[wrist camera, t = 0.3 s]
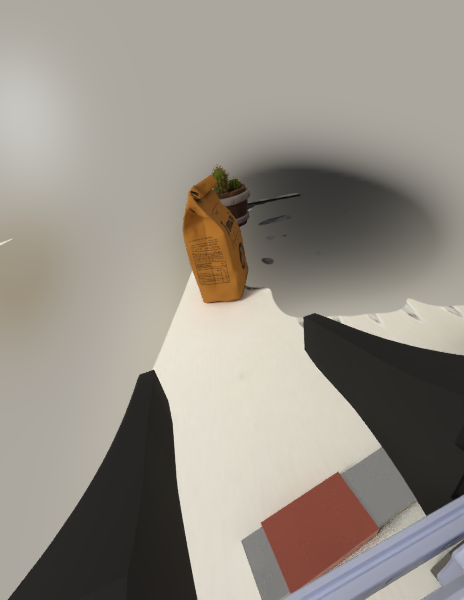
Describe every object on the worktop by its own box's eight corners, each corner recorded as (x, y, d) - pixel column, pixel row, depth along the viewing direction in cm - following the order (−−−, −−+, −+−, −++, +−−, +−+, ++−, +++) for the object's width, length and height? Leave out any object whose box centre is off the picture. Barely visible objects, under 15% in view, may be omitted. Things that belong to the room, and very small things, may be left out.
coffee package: (256, 272, 59) (237, 168, 47) (243, 306, 50) (215, 186, 37) (216, 274, 62) (189, 177, 50) (197, 305, 53) (157, 195, 41)
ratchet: (503, 466, 23) (529, 437, 20) (279, 644, 18) (270, 639, 15) (424, 403, 28) (435, 374, 25) (237, 525, 23) (225, 505, 20)
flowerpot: (222, 218, 99) (209, 160, 87) (260, 215, 92) (251, 152, 81) (204, 233, 88) (187, 170, 77) (246, 231, 82) (233, 162, 70)
